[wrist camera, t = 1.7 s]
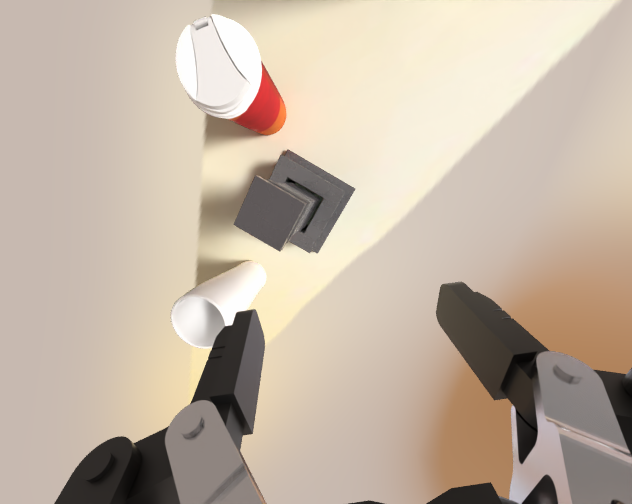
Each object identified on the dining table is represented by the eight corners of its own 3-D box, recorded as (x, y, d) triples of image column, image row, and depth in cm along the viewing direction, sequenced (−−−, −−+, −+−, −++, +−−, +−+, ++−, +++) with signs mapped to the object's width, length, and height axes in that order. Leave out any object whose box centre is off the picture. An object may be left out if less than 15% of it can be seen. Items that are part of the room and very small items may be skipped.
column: (284, 209, 36) (233, 224, 20) (297, 181, 35) (255, 175, 19) (310, 224, 36) (279, 251, 20) (325, 197, 35) (305, 204, 19)
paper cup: (234, 92, 33) (156, 27, 20) (285, 73, 32) (238, -11, 18) (251, 150, 35) (189, 126, 21) (300, 135, 33) (267, 98, 20)
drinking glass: (228, 282, 41) (162, 333, 27) (240, 248, 39) (177, 283, 25) (263, 299, 41) (216, 359, 27) (277, 266, 39) (236, 311, 25)
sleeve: (257, 216, 37) (237, 222, 30) (289, 150, 34) (274, 140, 27) (318, 251, 37) (311, 265, 30) (355, 188, 34) (356, 188, 27)
